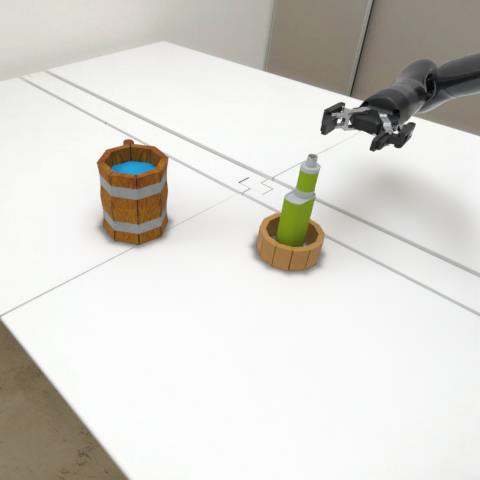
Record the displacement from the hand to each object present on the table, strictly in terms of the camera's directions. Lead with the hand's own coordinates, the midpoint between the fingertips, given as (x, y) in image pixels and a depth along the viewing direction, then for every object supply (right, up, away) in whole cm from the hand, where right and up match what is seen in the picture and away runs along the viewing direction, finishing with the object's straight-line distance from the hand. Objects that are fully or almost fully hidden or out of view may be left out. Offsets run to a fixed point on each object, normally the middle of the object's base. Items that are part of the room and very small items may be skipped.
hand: (347, 137), depth 74 cm
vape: (-6, -19, +14) cm, 24 cm away
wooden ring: (-6, -19, +13) cm, 24 cm away
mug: (-36, -12, +23) cm, 44 cm away
